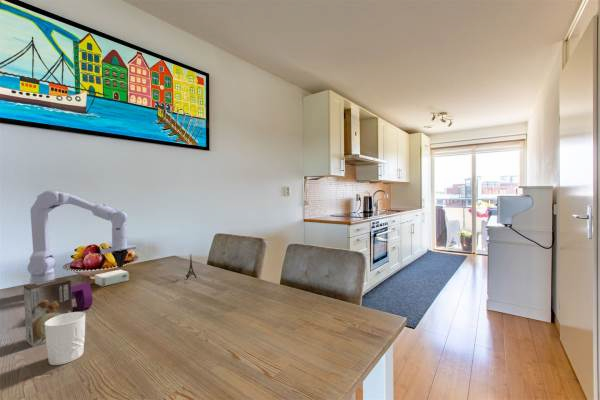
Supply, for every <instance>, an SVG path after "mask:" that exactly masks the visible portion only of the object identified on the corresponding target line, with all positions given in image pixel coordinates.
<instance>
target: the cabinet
mask: <svg viewBox="0 0 600 400" xmlns="http://www.w3.org/2000/svg"><path fill="white" fill-rule="evenodd" d="M125 273H129V271H128V270H127V271H126V270H123V269H117V270H116V269H115V270H111V271H107V272H102V273H98V274H94V284H96V285H98V286H100V287H102V278H106V277H111V276H115V275H120V274H125Z"/></svg>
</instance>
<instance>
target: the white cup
mask: <svg viewBox="0 0 600 400" xmlns="http://www.w3.org/2000/svg"><path fill="white" fill-rule="evenodd" d="M44 326H45V337H46V343H45V345H46V352H47V358H48V359H47V360H48V364H50V366H60V365H64V364H65V365H66V364H68V363H71V362H73V361H75V360H77V359H79V358H80V357H81V356H83V354H84V351H85V350H84V349H85V338H86V313H85V312H83V311H74V312H73V311H72V312H71V313H66V314H62V315H59V316H56V317H53V318H51V319H49V320H47V321H46V322H45V323H44Z"/></svg>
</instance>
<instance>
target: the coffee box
mask: <svg viewBox="0 0 600 400" xmlns="http://www.w3.org/2000/svg"><path fill="white" fill-rule="evenodd" d="M71 286H72V280H71V279H68V278H66V277H65V278H64V277H60V278H55V279H54V280H49V281H44V282H39V283H35V284H30V283H29V284H27V285H23V298H24V301H23V302H24V321H25V341H26V342H27V343H28V344H29V345H30V346H31V347H33V348H35V347H37V346H40V345H43V344H46V337H45V326H44V323H45V322H46V321H47V320H49V319H51V318H53V317H56V316H59V315H62V314H66V313H71V312H73V299H72V291H71Z"/></svg>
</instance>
